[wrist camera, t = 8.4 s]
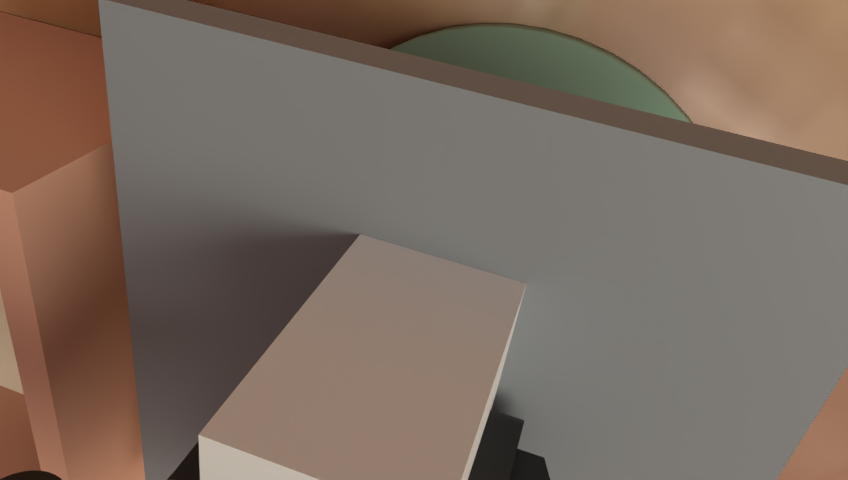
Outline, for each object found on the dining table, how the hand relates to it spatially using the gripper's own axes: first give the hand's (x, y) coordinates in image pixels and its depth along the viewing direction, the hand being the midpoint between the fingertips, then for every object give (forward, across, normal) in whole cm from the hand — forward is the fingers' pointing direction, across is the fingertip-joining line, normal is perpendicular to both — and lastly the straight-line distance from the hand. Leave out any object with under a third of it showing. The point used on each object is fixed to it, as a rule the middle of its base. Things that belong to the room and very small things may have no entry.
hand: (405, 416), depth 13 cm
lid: (+2, 0, 0) cm, 2 cm away
